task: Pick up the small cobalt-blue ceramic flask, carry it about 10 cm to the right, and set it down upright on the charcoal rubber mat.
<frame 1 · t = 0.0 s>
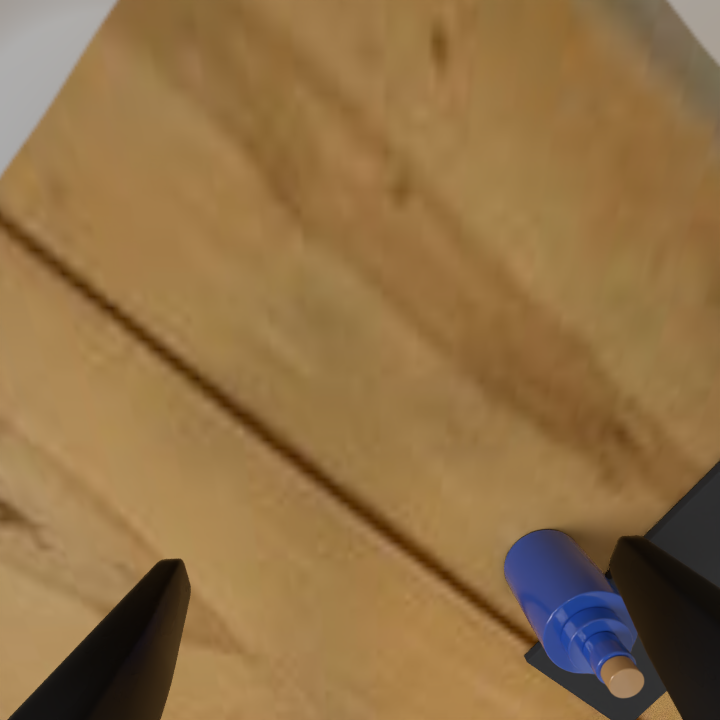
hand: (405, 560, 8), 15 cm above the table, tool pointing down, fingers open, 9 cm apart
mat: (675, 592, 28), on the table
flask: (542, 564, 27), on the table
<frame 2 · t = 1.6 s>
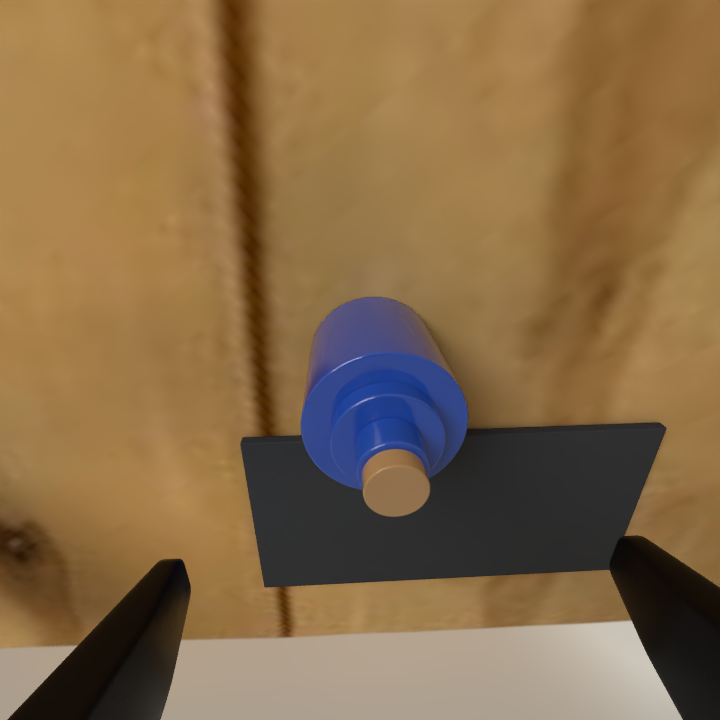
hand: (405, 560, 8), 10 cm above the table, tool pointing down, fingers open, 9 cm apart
mat: (446, 507, 21), on the table
flask: (372, 355, 17), on the table
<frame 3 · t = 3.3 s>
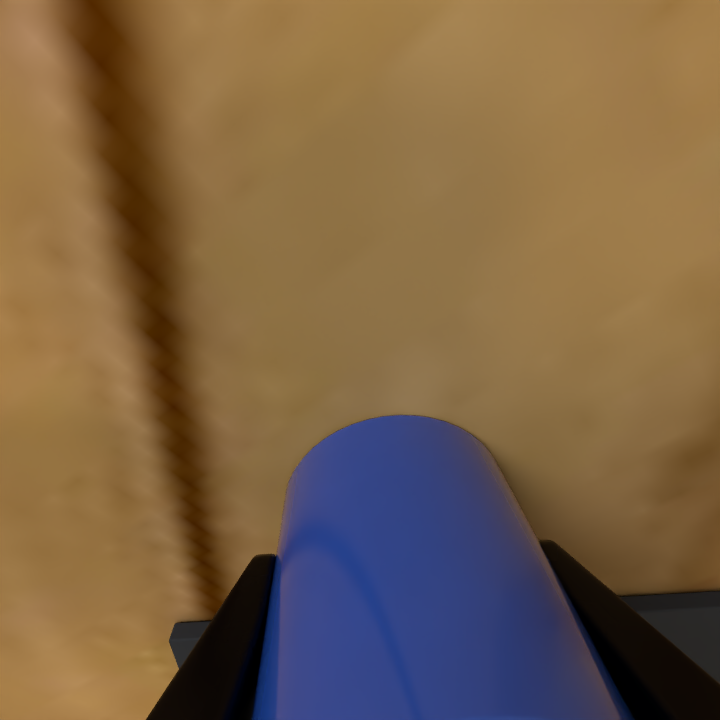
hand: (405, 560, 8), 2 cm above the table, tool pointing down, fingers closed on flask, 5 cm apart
mat: (502, 694, 14), on the table
flask: (394, 504, 10), on the table, touching gripper
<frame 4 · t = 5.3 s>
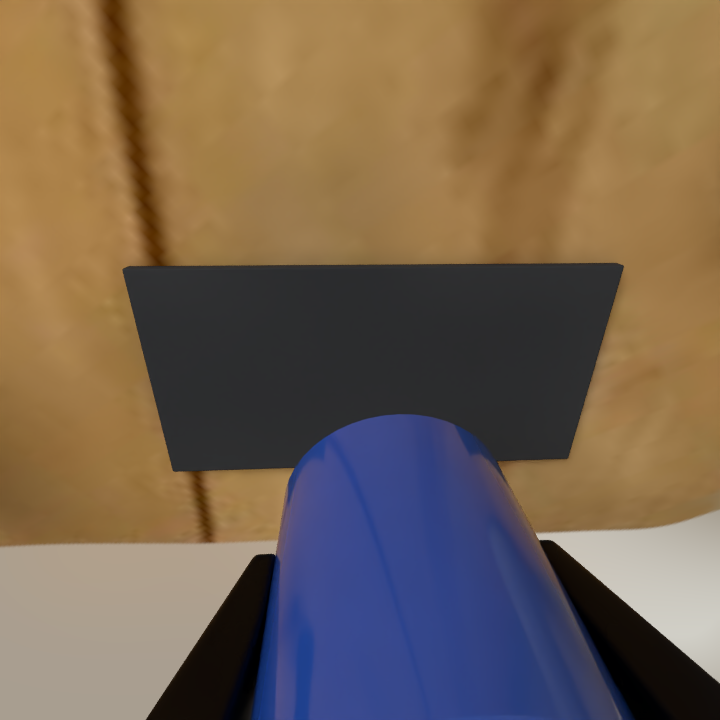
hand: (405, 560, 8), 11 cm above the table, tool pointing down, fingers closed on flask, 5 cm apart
mat: (377, 373, 19), on the table
flask: (394, 503, 10), point 9 cm above the table, touching gripper
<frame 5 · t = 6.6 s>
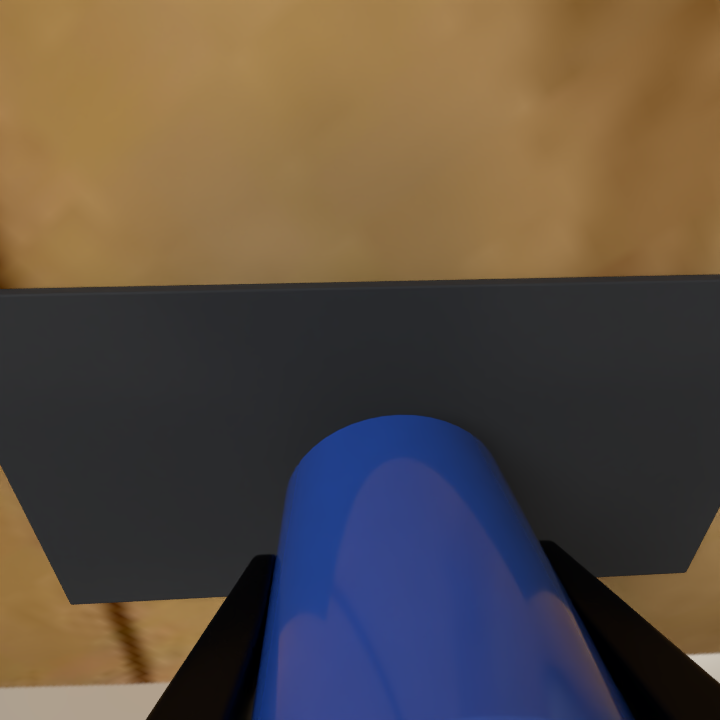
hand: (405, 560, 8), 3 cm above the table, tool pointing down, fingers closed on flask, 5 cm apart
mat: (390, 456, 11), on the table
flask: (394, 504, 10), point 2 cm above the table, touching gripper
when the fingers open (2 cm above the table, at t = 7.4 s): flask stays where it is, resting on mat.
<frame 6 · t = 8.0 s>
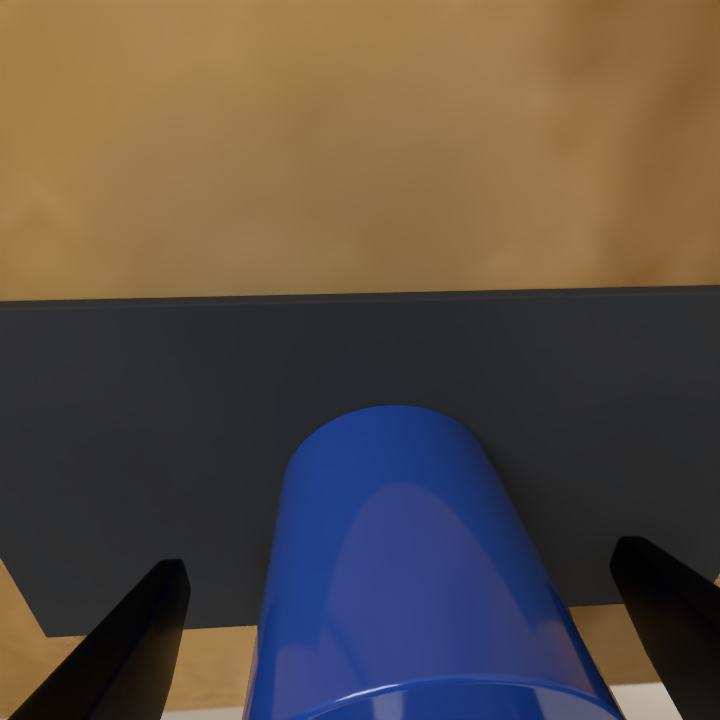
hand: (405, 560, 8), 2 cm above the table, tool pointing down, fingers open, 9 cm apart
mat: (390, 479, 10), on the table
flask: (387, 492, 10), resting on mat
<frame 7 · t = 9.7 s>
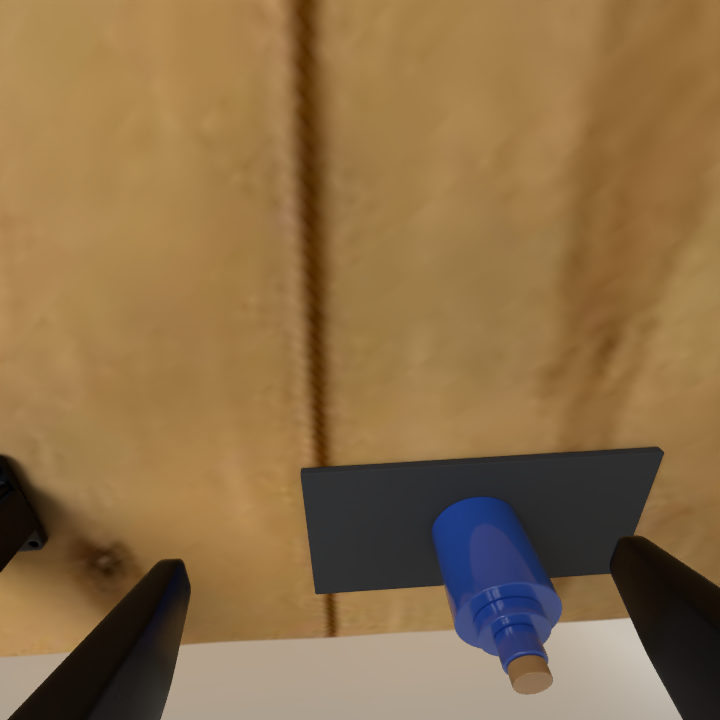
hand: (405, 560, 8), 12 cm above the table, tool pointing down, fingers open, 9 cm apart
mat: (474, 522, 25), on the table
flask: (474, 528, 24), resting on mat
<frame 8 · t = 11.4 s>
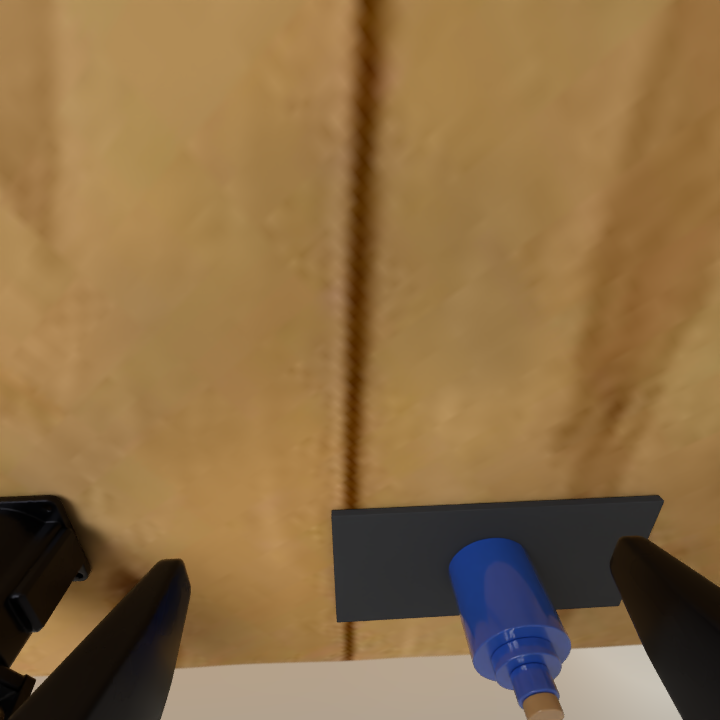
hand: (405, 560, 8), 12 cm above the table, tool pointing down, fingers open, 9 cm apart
mat: (487, 559, 26), on the table
flask: (488, 565, 26), resting on mat
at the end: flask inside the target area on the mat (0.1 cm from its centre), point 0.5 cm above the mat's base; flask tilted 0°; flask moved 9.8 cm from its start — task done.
